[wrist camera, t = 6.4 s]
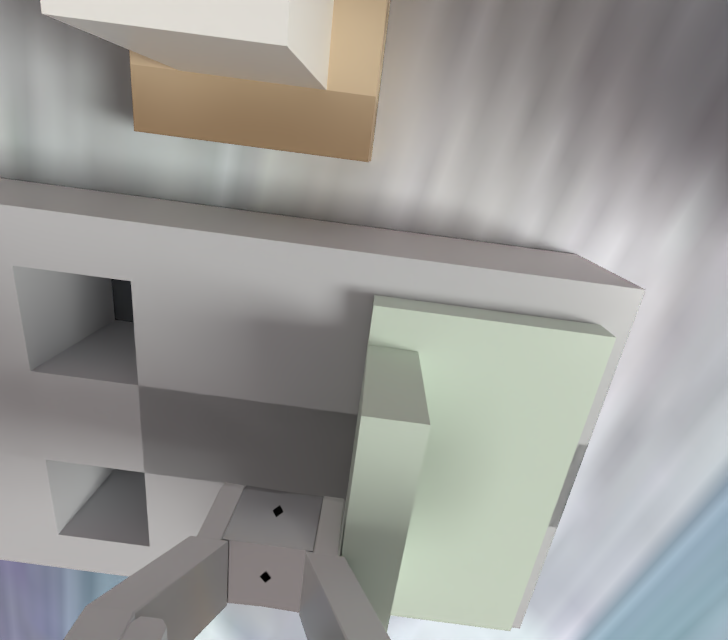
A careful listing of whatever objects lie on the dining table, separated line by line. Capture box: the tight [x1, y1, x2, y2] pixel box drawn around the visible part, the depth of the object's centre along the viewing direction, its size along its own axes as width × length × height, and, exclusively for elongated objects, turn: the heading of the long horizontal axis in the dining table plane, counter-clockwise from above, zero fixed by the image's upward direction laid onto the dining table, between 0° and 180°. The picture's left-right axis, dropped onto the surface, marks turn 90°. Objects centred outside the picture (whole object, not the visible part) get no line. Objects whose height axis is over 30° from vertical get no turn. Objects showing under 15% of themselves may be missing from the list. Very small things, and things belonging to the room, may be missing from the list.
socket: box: [0, 178, 645, 628], centre depth 14 cm, size 12×21×4 cm, turn 83°
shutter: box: [338, 295, 616, 632], centre depth 11 cm, size 10×6×4 cm, turn 173°
